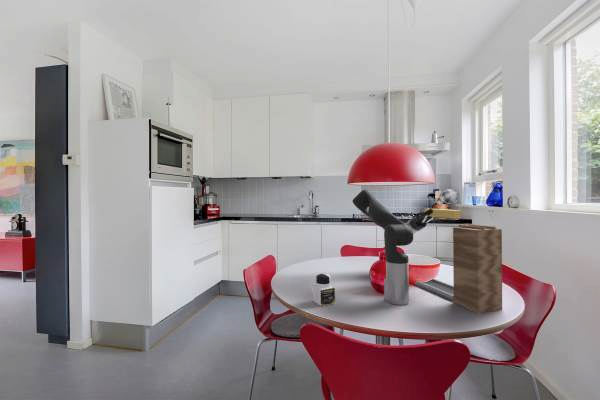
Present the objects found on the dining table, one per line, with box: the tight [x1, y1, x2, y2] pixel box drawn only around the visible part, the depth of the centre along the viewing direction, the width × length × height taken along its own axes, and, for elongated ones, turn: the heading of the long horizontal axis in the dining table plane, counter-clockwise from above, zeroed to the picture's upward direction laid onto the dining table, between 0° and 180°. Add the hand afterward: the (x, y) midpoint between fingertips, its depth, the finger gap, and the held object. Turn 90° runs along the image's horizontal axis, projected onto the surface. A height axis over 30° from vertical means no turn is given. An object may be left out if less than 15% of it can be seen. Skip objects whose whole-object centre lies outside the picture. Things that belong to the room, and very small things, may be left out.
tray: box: [414, 278, 454, 302], centre depth 137 cm, size 11×25×2 cm, turn 15°
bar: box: [423, 208, 462, 220], centre depth 137 cm, size 4×20×4 cm, turn 16°
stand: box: [452, 223, 503, 314], centre depth 118 cm, size 12×12×33 cm
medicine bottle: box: [312, 273, 336, 307], centre depth 123 cm, size 7×7×12 cm
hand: (435, 210), depth 140 cm, fingers closed on bar, 3 cm apart
